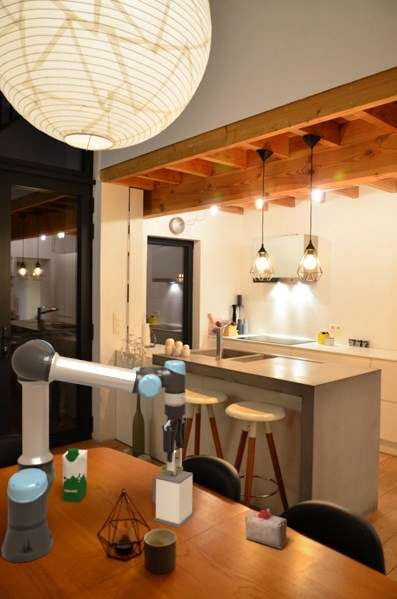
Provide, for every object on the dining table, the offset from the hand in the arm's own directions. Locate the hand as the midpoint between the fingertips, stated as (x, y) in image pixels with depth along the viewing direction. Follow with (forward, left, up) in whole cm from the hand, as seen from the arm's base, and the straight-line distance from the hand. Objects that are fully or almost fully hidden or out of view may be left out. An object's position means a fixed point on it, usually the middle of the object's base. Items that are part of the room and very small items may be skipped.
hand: (174, 467), depth 166 cm
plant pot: (+21, +14, -18) cm, 31 cm away
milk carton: (-5, +43, -18) cm, 47 cm away
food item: (+2, -34, -18) cm, 39 cm away
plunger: (0, 0, -13) cm, 13 cm away
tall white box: (0, +2, -18) cm, 18 cm away
